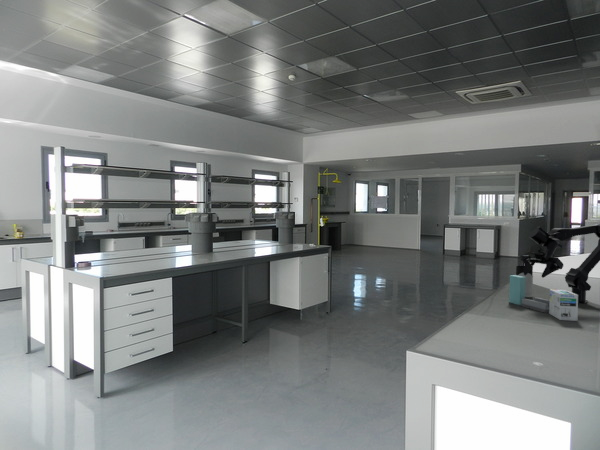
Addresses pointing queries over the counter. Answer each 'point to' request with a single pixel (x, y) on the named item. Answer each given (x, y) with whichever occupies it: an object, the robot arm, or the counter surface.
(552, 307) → the light bulb box
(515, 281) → the teal rectangular block
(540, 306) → the floor track
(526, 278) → the glass holder
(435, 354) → the counter surface
